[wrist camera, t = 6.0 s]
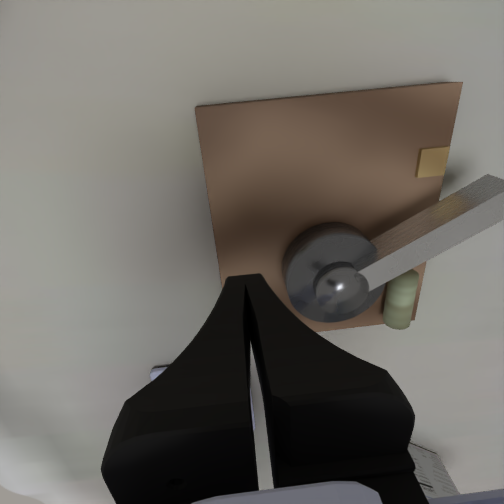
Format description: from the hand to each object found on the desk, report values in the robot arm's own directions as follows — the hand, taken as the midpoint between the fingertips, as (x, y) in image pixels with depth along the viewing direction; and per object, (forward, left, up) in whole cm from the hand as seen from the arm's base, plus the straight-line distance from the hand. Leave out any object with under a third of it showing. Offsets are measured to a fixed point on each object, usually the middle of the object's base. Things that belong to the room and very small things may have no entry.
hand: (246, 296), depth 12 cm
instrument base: (-2, -6, -9) cm, 11 cm away
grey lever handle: (-2, -9, -8) cm, 12 cm away
